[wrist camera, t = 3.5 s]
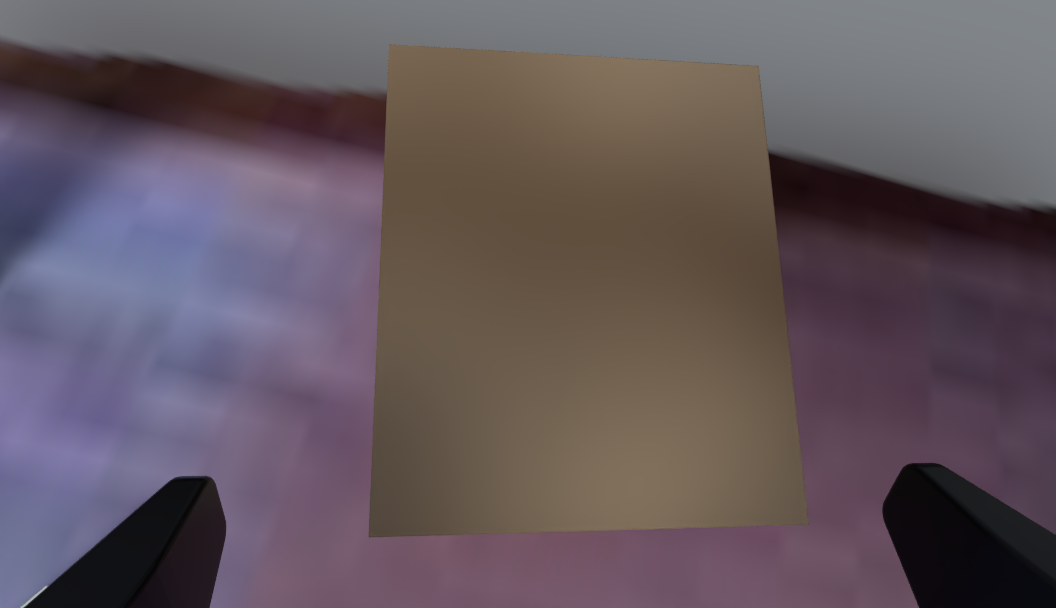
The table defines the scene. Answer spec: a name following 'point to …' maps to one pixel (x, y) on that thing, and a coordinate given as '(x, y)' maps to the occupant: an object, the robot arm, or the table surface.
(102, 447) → the table surface
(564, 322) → the beige upright block
